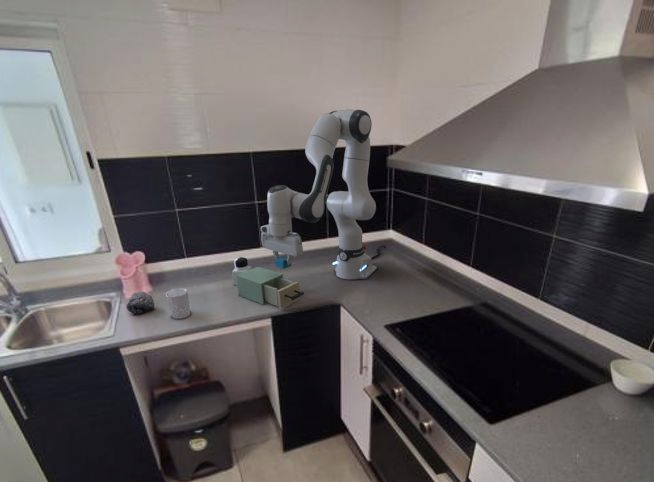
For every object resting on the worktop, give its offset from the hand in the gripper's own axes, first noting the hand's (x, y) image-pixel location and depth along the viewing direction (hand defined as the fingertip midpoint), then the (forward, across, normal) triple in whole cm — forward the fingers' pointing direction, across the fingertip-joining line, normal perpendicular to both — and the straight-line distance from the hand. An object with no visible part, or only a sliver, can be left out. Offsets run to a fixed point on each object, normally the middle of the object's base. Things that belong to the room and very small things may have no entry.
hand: (283, 262), depth 156 cm
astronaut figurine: (+17, +29, -1) cm, 33 cm away
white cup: (+18, +24, +35) cm, 46 cm away
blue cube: (+2, 0, 0) cm, 2 cm away
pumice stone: (+18, +41, +43) cm, 62 cm away
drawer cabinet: (+17, +12, +3) cm, 21 cm away
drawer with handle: (+16, -1, +3) cm, 16 cm away
